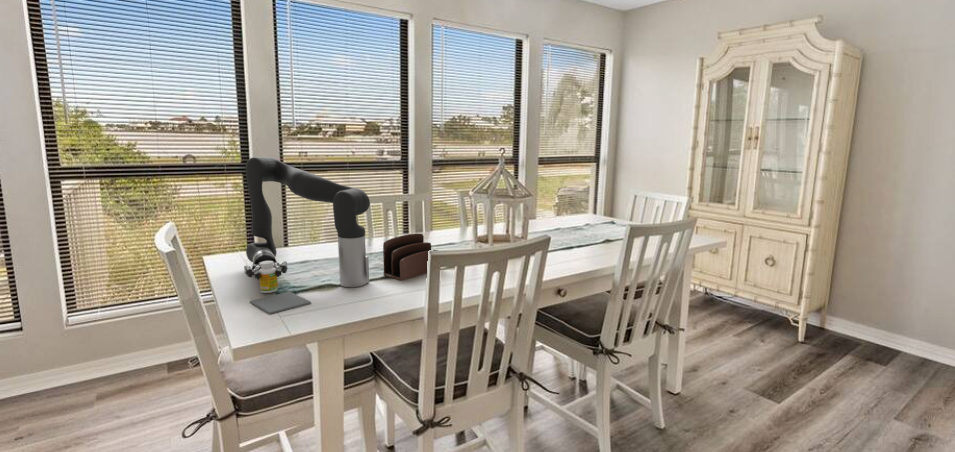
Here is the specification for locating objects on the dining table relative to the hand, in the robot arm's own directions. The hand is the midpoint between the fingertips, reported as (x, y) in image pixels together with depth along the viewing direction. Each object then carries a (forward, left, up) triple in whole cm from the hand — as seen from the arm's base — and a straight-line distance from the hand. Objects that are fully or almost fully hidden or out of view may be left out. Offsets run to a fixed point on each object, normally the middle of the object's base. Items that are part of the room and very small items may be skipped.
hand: (268, 275), depth 163 cm
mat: (+1, +10, -7) cm, 12 cm away
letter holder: (-49, +13, -7) cm, 51 cm away
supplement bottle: (-1, -2, -6) cm, 7 cm away
